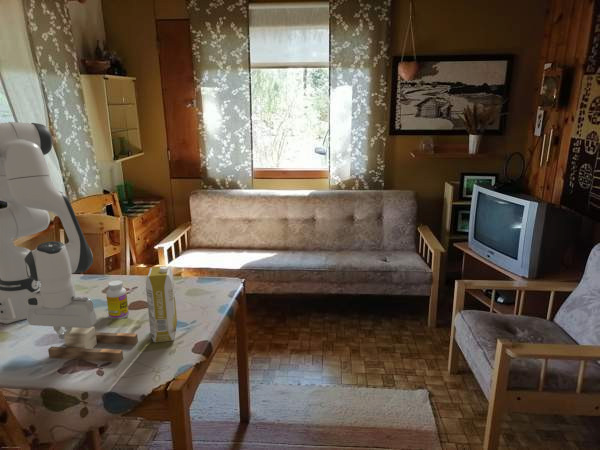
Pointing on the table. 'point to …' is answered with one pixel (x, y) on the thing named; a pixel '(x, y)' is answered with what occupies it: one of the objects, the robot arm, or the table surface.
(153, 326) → the juice carton
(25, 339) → the table surface
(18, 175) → the robot arm
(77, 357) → the chute
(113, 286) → the supplement bottle
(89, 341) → the block
